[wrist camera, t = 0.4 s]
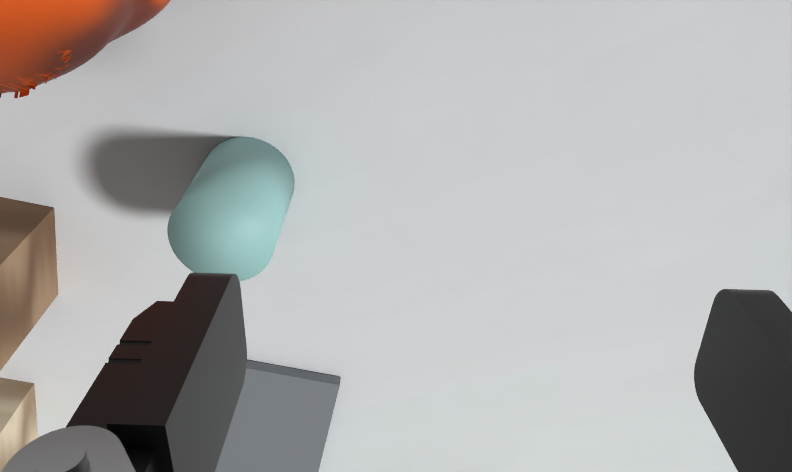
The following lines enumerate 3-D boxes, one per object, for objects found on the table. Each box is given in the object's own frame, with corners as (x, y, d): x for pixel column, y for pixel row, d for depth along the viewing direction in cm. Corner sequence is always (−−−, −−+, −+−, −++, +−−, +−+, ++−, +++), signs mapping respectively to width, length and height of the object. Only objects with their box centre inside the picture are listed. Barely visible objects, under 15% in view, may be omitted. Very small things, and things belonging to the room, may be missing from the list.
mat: (148, 342, 35) (145, 349, 34) (340, 376, 36) (339, 385, 35) (141, 521, 42) (137, 529, 42) (299, 546, 43) (297, 554, 43)
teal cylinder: (206, 127, 28) (170, 181, 24) (300, 147, 29) (280, 204, 25) (199, 208, 31) (165, 270, 26) (287, 226, 31) (267, 290, 27)
